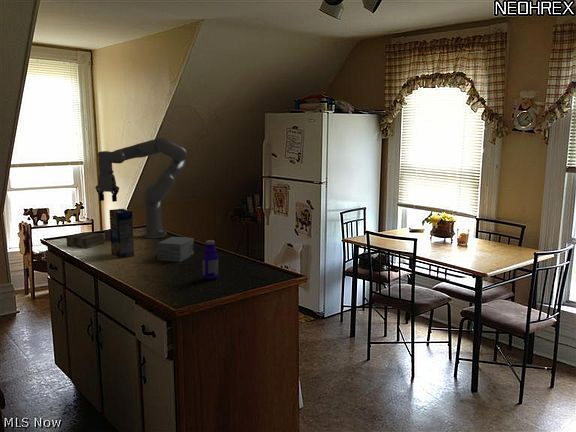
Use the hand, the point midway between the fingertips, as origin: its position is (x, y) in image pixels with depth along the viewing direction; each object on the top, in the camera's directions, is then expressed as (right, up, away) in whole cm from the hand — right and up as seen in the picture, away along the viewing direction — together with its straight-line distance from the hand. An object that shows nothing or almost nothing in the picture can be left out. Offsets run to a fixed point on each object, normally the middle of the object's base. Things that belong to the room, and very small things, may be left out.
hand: (108, 201), depth 310 cm
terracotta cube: (+1, -23, +4) cm, 24 cm away
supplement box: (+48, -31, -36) cm, 68 cm away
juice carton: (+19, -30, -33) cm, 49 cm away
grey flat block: (-9, -26, -11) cm, 30 cm away
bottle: (+72, -37, -74) cm, 110 cm away
